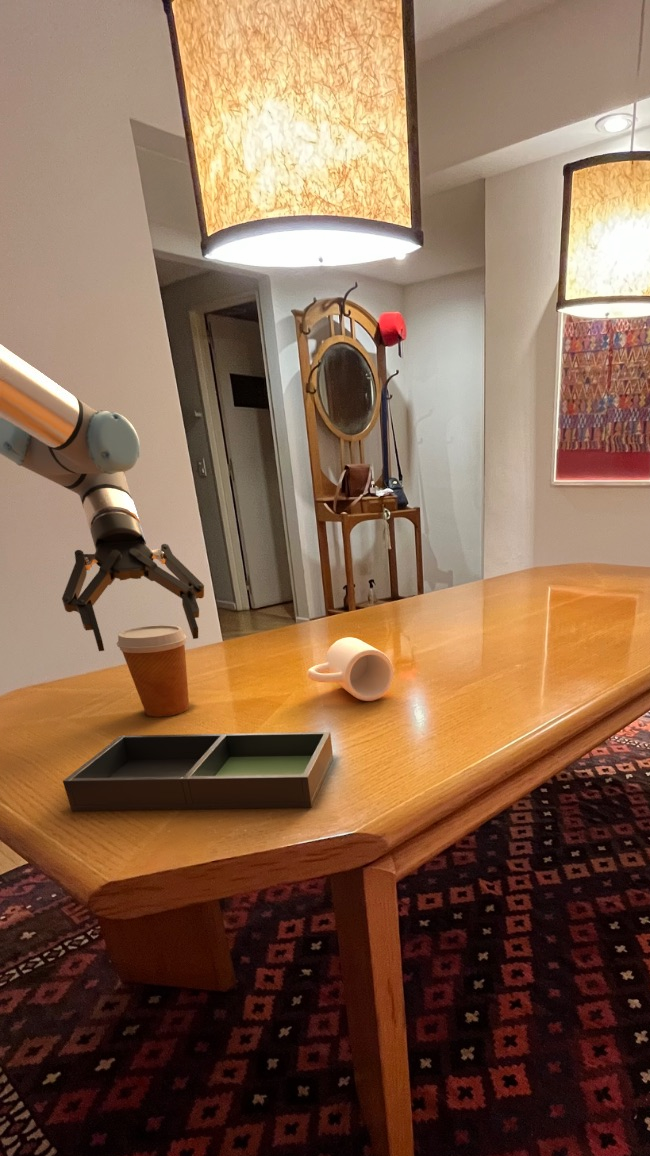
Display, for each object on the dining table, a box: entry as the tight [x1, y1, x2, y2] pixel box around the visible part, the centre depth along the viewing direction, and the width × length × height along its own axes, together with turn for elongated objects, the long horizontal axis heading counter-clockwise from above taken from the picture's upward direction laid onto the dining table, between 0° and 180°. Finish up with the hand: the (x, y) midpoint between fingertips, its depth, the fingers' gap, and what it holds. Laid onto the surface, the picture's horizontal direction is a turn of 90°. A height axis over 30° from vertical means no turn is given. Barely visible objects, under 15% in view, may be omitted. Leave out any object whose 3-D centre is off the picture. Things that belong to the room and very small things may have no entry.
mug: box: [307, 636, 395, 702], centre depth 106 cm, size 12×10×8 cm
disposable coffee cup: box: [116, 624, 190, 718], centre depth 100 cm, size 10×10×12 cm
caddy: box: [62, 731, 334, 812], centre depth 77 cm, size 26×13×4 cm, turn 89°
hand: (149, 639), depth 102 cm, fingers open, 13 cm apart
